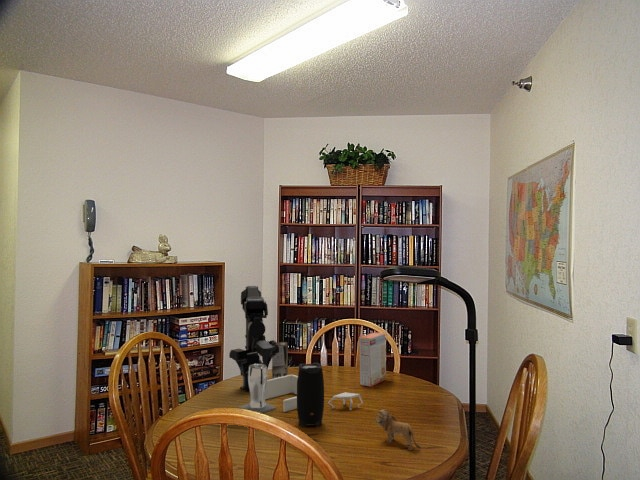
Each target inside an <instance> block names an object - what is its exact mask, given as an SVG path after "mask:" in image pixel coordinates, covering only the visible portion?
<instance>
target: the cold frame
mask: <svg viewBox="0 0 640 480" xmlns="http://www.w3.org/2000/svg"><path fill="white" fill-rule="evenodd" d="M297 379H298V375H296V374H295V375H294V374H292V373H291V374H288V375H287V376H283V377H278V378H274V379H272V378H270V379H267V386H266V391H265V400H268V399H272V398H275V397H281V396H284V395H288V394H295V395H296V396H293V397H290V398H285V399H283V400H282V412H284V413H286V412H290V411H293V410H296V409H297Z"/></svg>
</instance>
